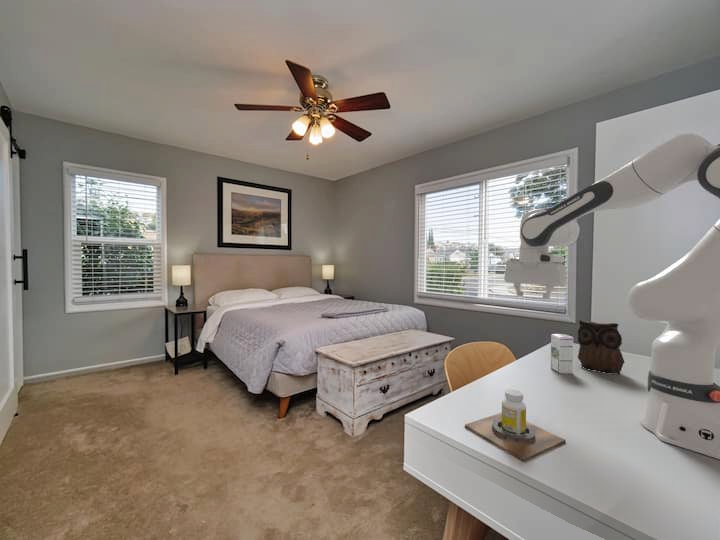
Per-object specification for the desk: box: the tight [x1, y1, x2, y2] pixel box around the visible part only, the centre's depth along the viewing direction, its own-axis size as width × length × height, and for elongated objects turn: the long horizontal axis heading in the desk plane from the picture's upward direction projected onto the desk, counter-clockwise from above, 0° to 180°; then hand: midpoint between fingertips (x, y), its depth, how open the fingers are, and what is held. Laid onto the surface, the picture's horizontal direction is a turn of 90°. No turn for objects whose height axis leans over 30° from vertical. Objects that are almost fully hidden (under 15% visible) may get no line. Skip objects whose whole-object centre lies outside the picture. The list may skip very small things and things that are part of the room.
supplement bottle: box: [501, 388, 527, 436], centre depth 76 cm, size 5×5×10 cm
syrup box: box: [550, 333, 574, 374], centre depth 124 cm, size 6×6×14 cm
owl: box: [577, 319, 626, 375], centre depth 127 cm, size 13×13×20 cm
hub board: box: [464, 412, 566, 463], centre depth 76 cm, size 16×16×2 cm
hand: (532, 297), depth 107 cm, fingers open, 8 cm apart
